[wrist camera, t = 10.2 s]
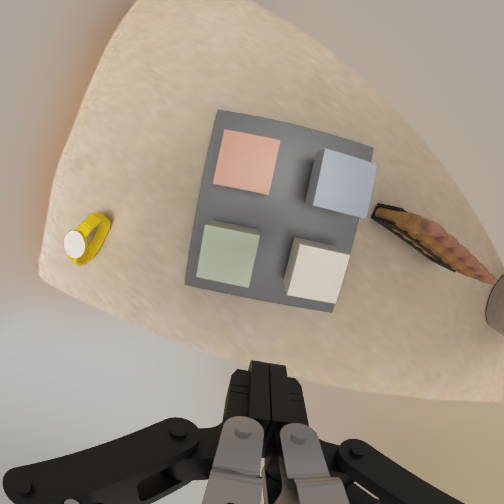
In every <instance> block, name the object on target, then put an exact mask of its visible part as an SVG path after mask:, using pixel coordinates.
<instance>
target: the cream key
mask: <svg viewBox="0 0 504 504" xmlns="http://www.w3.org/2000/svg"><path fill="white" fill-rule="evenodd" d="M349 257H350V255H349V254H348V253H347V252H345V251H344V250H343V249H341V248H340V247H338V246H333V245H329V244H325V243H320V242H316V241H311V240H306V239H302V238H297V237H294V240H293V244H292V248H291V252H290V257H289V261H288V265H287V269H286V273H285V277H284V281H283V283H284V286H285V290H286V293H287V295H289V296H295V297H300V298H306V299H312V300H317V301H323V302H329V303H335V304H336V301H337V298H338V295H339V292H340V288H341V285H342V282H343V278H344V275H345V272H346V268H347V265H348V261H349Z"/></svg>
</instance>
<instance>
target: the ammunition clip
mask: <svg viewBox="0 0 504 504" xmlns="http://www.w3.org/2000/svg"><path fill="white" fill-rule="evenodd" d="M371 218H372V219H374V220H375V221H377V222H378V223H380V224H381V225H382V226H384V227H385V228H387V229H388V230H390V231H391V232H393V233H394V234H396V235H397V236H398V237H400V238H401V239H403V240H404V241H405V242H407V243H408V244H410V245H411V246H412V247H414V248H415V249H416V250H418V251H419V252H421V253H422V254H423V255H425V256H426V257H427V258H429V259H430V260H431V261H433V262H435V263H437V264H439V265H441V266H443V267H445V268H447V269H449V270H451V271H453V272H456V271H457V272H459V273H461V274H463V275H465V276H467V277H472V278H475V279H477V280H480V281H482V282H485V283H489V284H496V283H497V280H496V278H495V277H494V276H493V275H492V274H491V273H490V272H489V271H488V270H487V269H486V268H485V267H484V266H483V265H482V264H481V263H480V262H479V261H478V260H477V259H476V258H475V257H474V256H473V255H471V254H470V252H469V251H468V250H467V249H466V248H465V247H464V246H462V245H461V244H459V242H458V241H457V240H456V239H455V238H454V237H453V236H451V235H450V234H448V233H446V231H445V229H444V228H443V227H442V226H440V225H439V224H437V223H435V222H433V221H429V220H427V219H424V218H422V217H421V216H419V215H416V214H412V213H408V212H406V211H405V210H404V209H402V208H399V207H394V206H389V205H385V204H380V203H378V205H377V207H376V208H375V210H374V212H373V214H372V216H371Z"/></svg>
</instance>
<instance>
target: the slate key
mask: <svg viewBox="0 0 504 504" xmlns="http://www.w3.org/2000/svg"><path fill="white" fill-rule="evenodd" d="M376 170H377V164H374V163H371V162H368V161H365V160H362V159H359V158H356V157H353V156H350V155H346V154H343V153H340V152H336V151H333V150H329V149H326V148H325V149H323V150H321V151H319V152H317V153H315V158H314V163H313V168H312V173H311V177H310V182H309V187H308V191H307V196H306V200H305V203H307V204H310V205H313V206H318V207H322V208H326V209H330V210H334V211H338V212H341V213H345V214H349V215H353V216H357V217H360V218H364V219H366V217H367V213H368V208H369V204H370V199H371V195H372V190H373V185H374V180H375V175H376Z"/></svg>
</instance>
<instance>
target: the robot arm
mask: <svg viewBox="0 0 504 504" xmlns="http://www.w3.org/2000/svg"><path fill="white" fill-rule="evenodd" d="M486 319H487V322H488V324H489V325H490V326H491V327H492V328H494V329H495V330H496V331H498V332H499V333H501V334H502V335H503V336H504V276H503V277H502V278H501V279H500V280H499V281H498V282H497V284H496V285H495V287H494V289H493V291H492V293H491V295H490V298H489V301H488V304H487V309H486ZM261 458H265V465H264V467H263V469H262V472H261V476H262V477H260V467H261ZM206 479H209V480H208V484H207V487H206V491H205V494H204V498H203V501H202V504H260V502H261V492H262V486H263V496H264V504H464V503H462V502H460V501H459V500H457V499H455V498H453V497H451V496H449V495H448V494H446V493H444V492H442V491H441V490H439V489H437V488H435V487H433V486H432V485H430V484H429V483H427V482H425V481H423V480H422V479H420V478H419V477H417V476H415V475H414V474H412V473H411V472H409V471H408V470H406V469H404V468H402V467H401V466H400V465H398V464H397V463H395V462H393V461H392V460H391V459H389V458H388V457H386V456H384V455H383V454H382V453H380V452H379V451H377V450H376V449H374V448H373V447H372V446H370V445H369V444H367V443H366V442H364V441H362V440H358V439H348V440H346V441H344V442H342V443H341V445H340V446H339V445H335V444H332V443H328V442H325V441H322V440H320V439H318V436H317V434H316V432H315V431H314V430H313V429H312V428H310V427H309V425H308V419H307V413H306V408H305V403H304V398H303V392H302V387H301V385H300V384H299V382H298V381H297V380H296V378H290V377H287V371H286V366H284V365H278V364H271V363H269V364H268V363H265V362H259V361H253V360H251V362H250V365H249V369H248V371H246V370H240V369H237V370H236V371H235V372H234V373H233V374H232V376H231V380H230V384H229V388H228V393H227V397H226V402H225V409H224V415H223V421H222V423H221V424H219V425H218V426H216V427H212V428H198V427H197V426H196V425H195V424H193V423H192V422H191V421H189V420H186V419H183V418H176V417H175V418H168V419H165V420H163V421H161V422H158V423H156V424H153V425H151V426H149V427H146V428H144V429H141V430H139V431H136V432H134V433H131V434H129V435H126V436H123V437H121V438H118V439H115V440H113V441H110V442H107V443H104V444H101V445H98V446H95V447H92V448H89V449H86V450H83V451H80V452H76V453H73V454H69V455H66V456H62V457H59V458H55V459H51V460H47V461H43V462H39V463H35V464H30V465H25V466H20V467H16V468H12V469H10V470H9V471H7V472H6V473H5V475H4V478H3V488H4V491H5V493H6V495H7V496H8V497H9V499H10V500H11V501H12V502H13V503H14V504H151V503H153V502H155V501H157V500H159V499H161V498H163V497H165V496H166V495H168V494H170V493H172V492H174V491H176V490H177V489H180V488H181V487H183V486H185V485H187V484H188V483H190V482H191V481H192V480H206ZM354 482H357V483H358V484H360V485H361V486H362V487H364V488H365V489H366V490H368V491H369V492H371V493H372V494H374V495H375V496H376V497H378V498H379V499H376V498H374V497H372V496H371V495H369V494H368V493H367V492H365V491H364V490H362V489H361V488H360V487H358V486H357V485H356V484H354Z"/></svg>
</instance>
